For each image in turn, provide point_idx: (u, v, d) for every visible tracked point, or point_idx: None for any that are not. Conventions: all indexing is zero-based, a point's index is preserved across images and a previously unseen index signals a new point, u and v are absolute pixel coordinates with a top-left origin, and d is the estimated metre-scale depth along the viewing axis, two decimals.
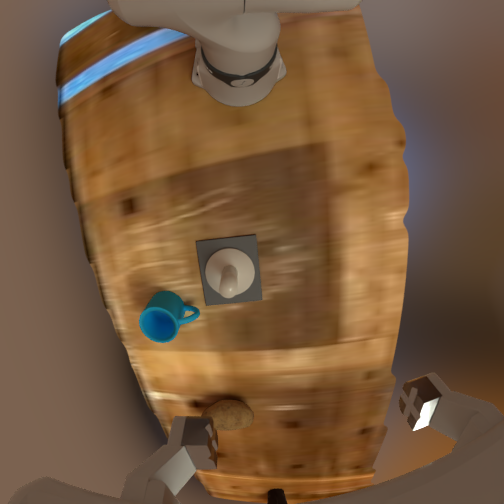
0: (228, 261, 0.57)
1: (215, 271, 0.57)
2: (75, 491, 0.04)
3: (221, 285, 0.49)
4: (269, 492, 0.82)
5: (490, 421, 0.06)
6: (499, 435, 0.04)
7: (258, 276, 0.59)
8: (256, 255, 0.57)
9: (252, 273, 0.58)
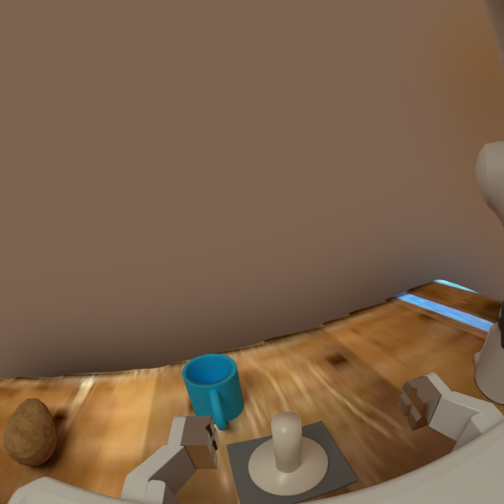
0: (306, 458, 0.28)
1: None
2: (75, 491, 0.04)
3: (290, 413, 0.27)
4: None
5: (490, 421, 0.06)
6: (499, 435, 0.04)
7: (288, 502, 0.22)
8: (325, 490, 0.23)
9: (294, 490, 0.23)
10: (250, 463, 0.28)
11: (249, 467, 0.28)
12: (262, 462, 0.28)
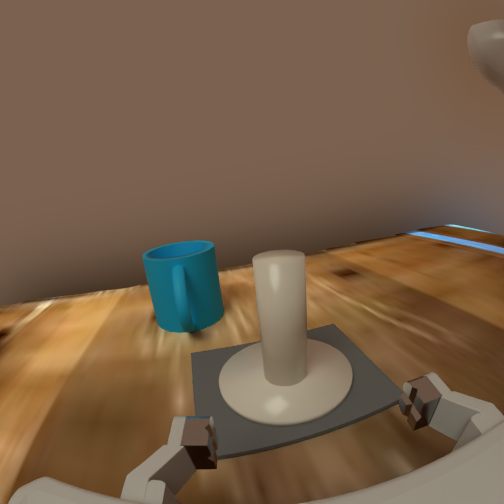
0: (315, 364, 0.20)
1: None
2: (75, 491, 0.04)
3: (285, 250, 0.19)
4: None
5: (490, 421, 0.06)
6: (499, 435, 0.04)
7: (288, 437, 0.14)
8: (354, 415, 0.15)
9: (298, 413, 0.15)
10: (223, 373, 0.20)
11: (220, 378, 0.20)
12: (242, 372, 0.20)
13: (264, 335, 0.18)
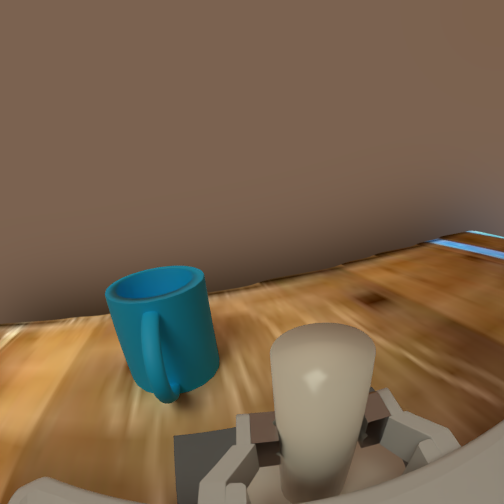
0: (355, 467, 0.11)
1: None
2: (75, 491, 0.04)
3: (331, 325, 0.09)
4: None
5: (441, 449, 0.06)
6: (499, 435, 0.04)
7: None
8: None
9: None
10: None
11: None
12: None
13: (287, 464, 0.08)
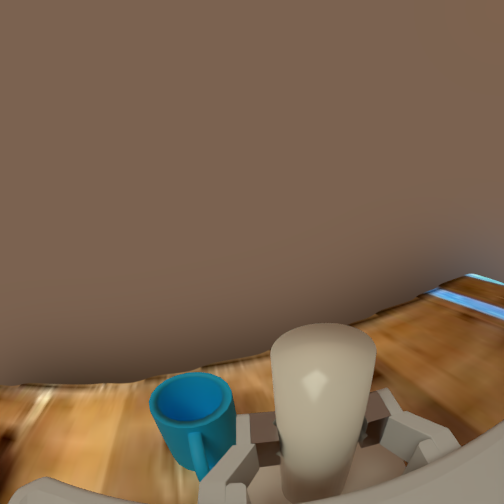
0: (355, 467, 0.11)
1: None
2: (75, 492, 0.04)
3: (332, 326, 0.09)
4: None
5: (441, 449, 0.06)
6: (499, 435, 0.04)
7: None
8: None
9: None
10: None
11: None
12: None
13: (287, 464, 0.08)
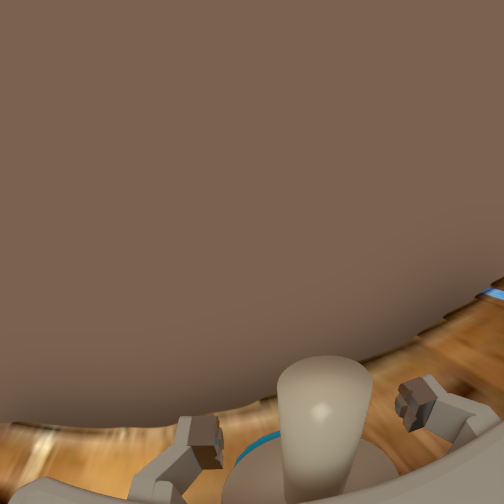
0: (353, 477, 0.11)
1: None
2: (75, 491, 0.04)
3: (333, 358, 0.10)
4: None
5: (486, 424, 0.06)
6: (499, 435, 0.04)
7: None
8: None
9: None
10: (226, 492, 0.11)
11: (224, 501, 0.11)
12: (252, 491, 0.11)
13: (291, 478, 0.09)
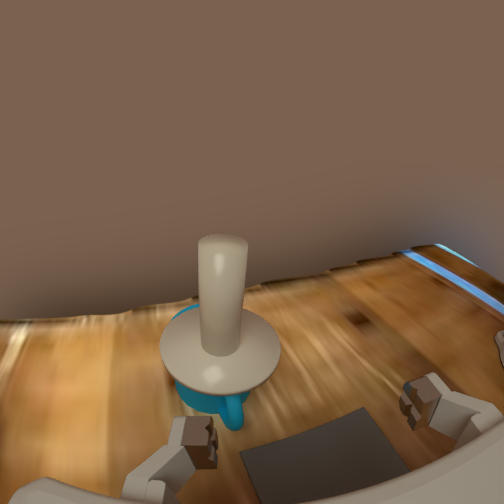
0: (247, 337, 0.23)
1: None
2: (75, 491, 0.04)
3: (231, 235, 0.20)
4: None
5: (490, 421, 0.06)
6: (499, 435, 0.04)
7: None
8: None
9: (228, 385, 0.19)
10: (163, 337, 0.22)
11: (161, 343, 0.22)
12: (180, 337, 0.22)
13: (203, 312, 0.20)
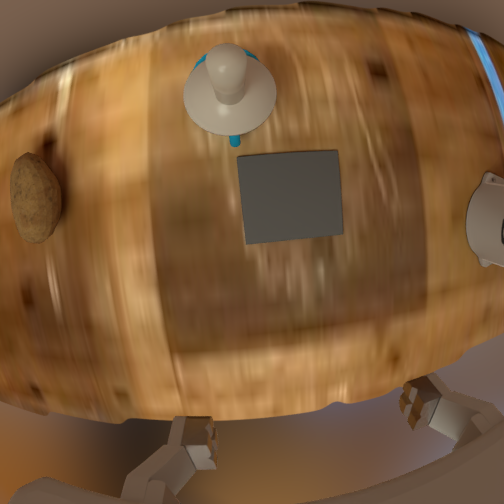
0: (252, 89, 0.27)
1: None
2: (75, 492, 0.04)
3: (235, 46, 0.18)
4: None
5: (490, 421, 0.06)
6: (499, 435, 0.04)
7: (284, 238, 0.40)
8: (315, 235, 0.40)
9: (228, 130, 0.28)
10: (187, 85, 0.26)
11: (185, 91, 0.26)
12: (200, 86, 0.26)
13: (213, 87, 0.23)
